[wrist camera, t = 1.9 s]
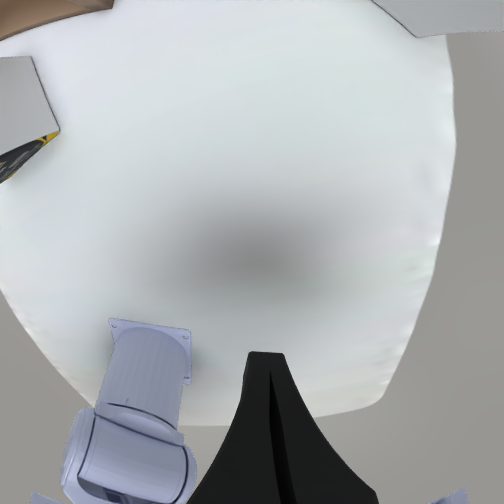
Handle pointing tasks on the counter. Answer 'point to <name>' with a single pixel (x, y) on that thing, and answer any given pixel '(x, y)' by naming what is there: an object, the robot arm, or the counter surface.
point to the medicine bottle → (22, 114)
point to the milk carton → (446, 15)
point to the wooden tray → (42, 13)
